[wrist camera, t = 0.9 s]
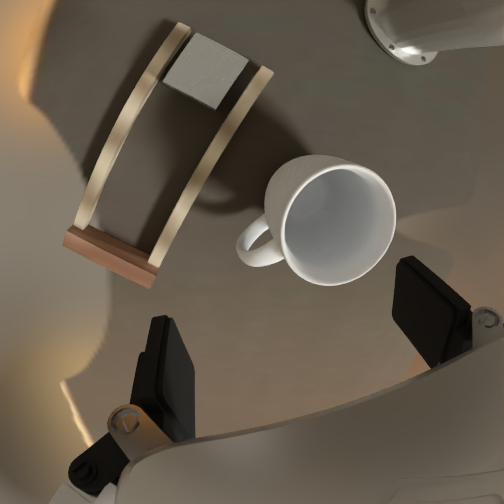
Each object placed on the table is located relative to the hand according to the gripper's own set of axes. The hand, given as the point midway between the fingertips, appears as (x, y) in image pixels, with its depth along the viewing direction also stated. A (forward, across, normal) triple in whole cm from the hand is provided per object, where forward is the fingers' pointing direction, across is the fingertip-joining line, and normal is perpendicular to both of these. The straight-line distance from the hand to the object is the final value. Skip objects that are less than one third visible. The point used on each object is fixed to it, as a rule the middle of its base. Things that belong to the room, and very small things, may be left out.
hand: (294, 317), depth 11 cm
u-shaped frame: (+25, +8, -5) cm, 27 cm away
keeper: (+25, +1, -13) cm, 28 cm away
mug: (+26, -6, +3) cm, 26 cm away
